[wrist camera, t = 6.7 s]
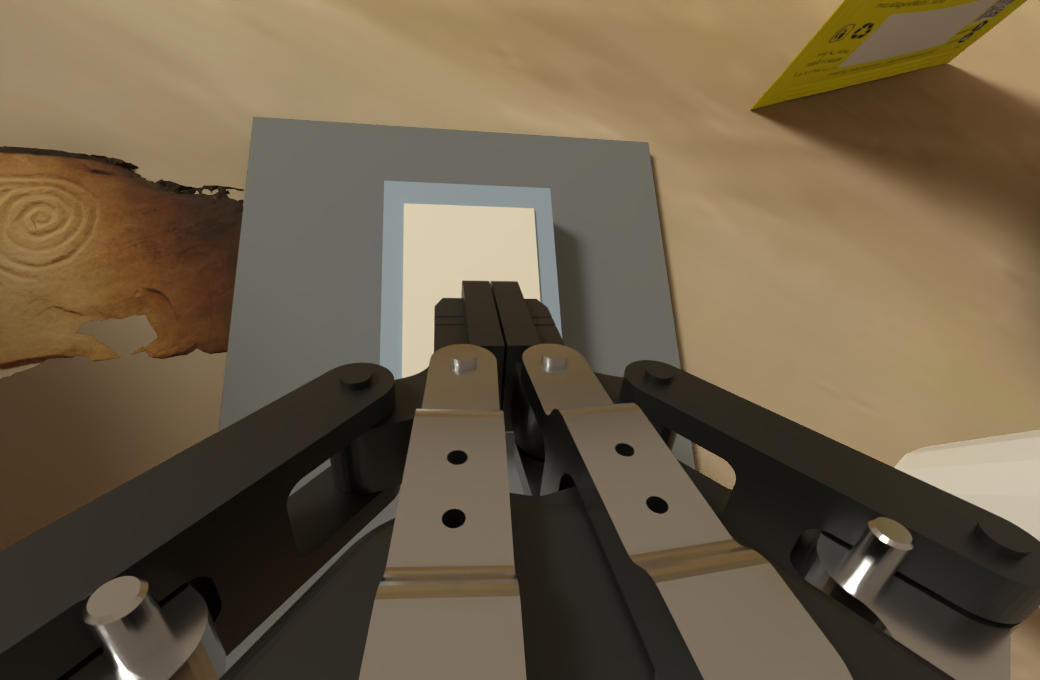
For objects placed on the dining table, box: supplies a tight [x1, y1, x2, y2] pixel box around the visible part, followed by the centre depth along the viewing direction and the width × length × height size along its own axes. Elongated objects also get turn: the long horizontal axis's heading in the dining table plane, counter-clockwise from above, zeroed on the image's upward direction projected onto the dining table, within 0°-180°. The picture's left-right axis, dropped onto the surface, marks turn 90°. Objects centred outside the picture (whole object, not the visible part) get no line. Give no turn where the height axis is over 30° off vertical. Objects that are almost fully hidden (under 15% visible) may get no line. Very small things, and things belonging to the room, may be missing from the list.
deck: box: [380, 181, 562, 433], centre depth 18 cm, size 6×2×10 cm
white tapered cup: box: [894, 430, 1040, 608], centre depth 18 cm, size 7×7×7 cm
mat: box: [219, 117, 695, 672], centre depth 19 cm, size 18×22×1 cm
